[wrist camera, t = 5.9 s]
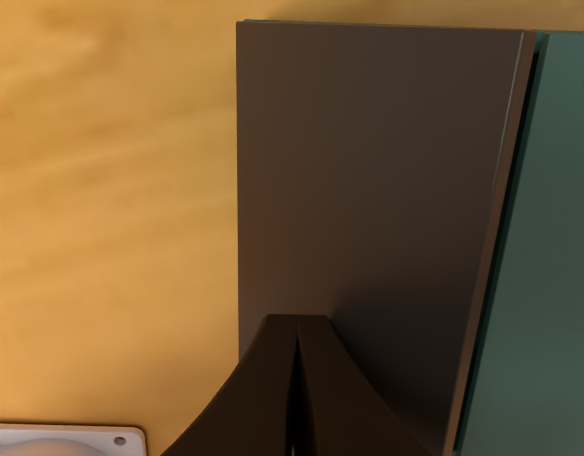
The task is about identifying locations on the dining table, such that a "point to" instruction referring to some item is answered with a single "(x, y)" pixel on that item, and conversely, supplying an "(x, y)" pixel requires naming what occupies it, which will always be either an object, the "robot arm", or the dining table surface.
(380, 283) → the lid
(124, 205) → the dining table surface
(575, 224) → the storage box
